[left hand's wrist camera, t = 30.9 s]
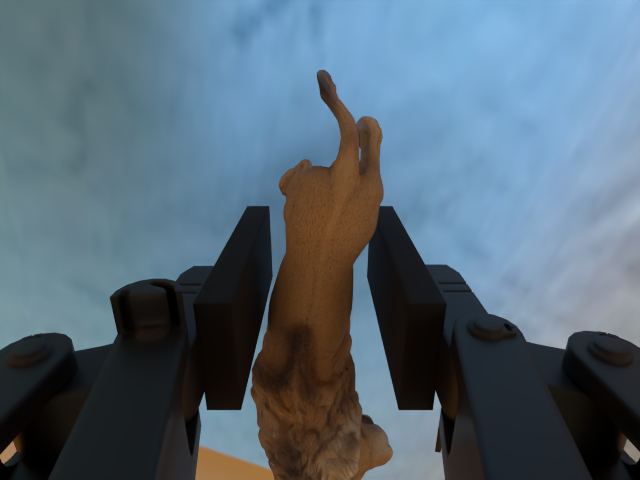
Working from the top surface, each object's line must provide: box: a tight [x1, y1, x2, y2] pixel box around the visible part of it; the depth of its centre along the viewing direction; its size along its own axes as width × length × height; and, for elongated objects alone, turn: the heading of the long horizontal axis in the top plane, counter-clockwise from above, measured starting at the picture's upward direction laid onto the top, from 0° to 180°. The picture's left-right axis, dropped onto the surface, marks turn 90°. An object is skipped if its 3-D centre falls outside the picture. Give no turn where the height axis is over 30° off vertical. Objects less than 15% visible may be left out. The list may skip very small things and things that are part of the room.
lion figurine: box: [251, 70, 393, 480], centre depth 12 cm, size 12×4×7 cm, turn 1°
